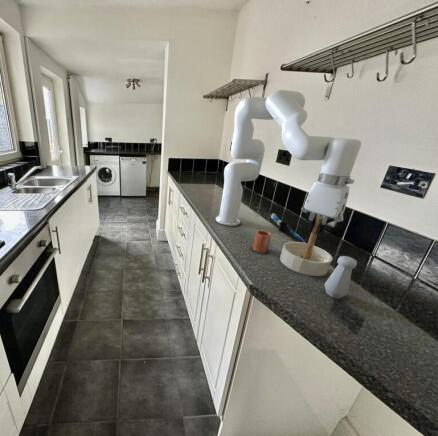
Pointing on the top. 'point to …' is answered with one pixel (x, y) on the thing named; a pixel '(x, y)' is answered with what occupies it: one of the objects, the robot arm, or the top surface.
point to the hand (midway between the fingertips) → (314, 232)
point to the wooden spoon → (311, 240)
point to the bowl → (295, 262)
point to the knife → (286, 228)
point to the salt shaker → (340, 277)
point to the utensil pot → (261, 241)
